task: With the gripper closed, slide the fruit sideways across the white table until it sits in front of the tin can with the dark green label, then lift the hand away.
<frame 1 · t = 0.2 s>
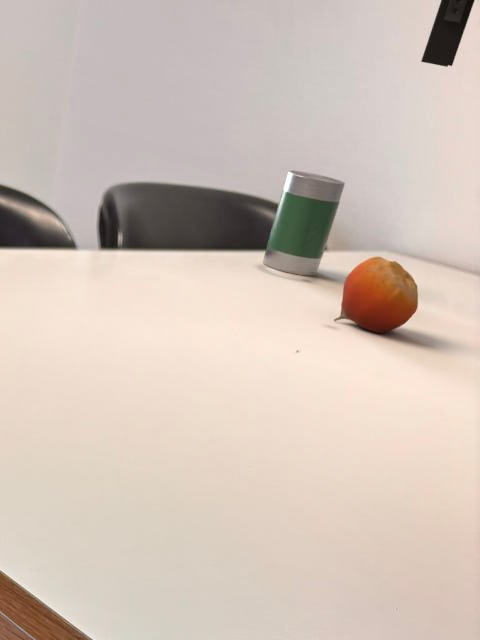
hand: (435, 64, 106), 25 cm above the table, tool pointing down, fingers open, 13 cm apart
tin can: (289, 268, 137), on the table
fruit: (368, 329, 114), on the table
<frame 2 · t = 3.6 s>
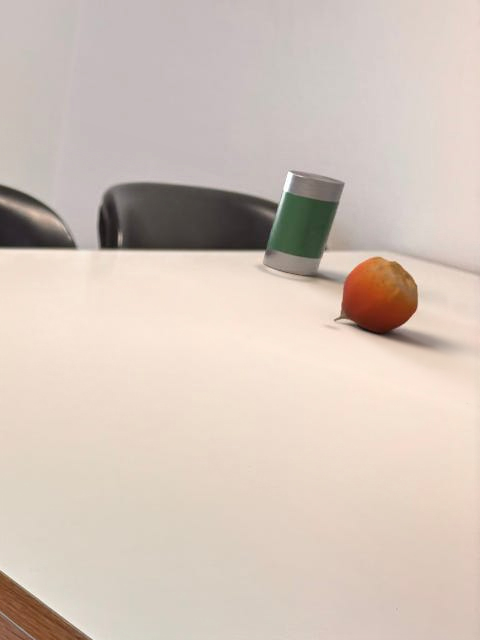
nothing on the table moved.
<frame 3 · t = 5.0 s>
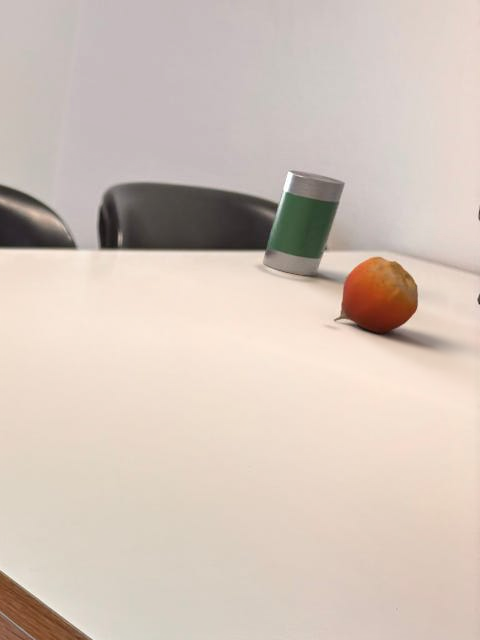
nothing on the table moved.
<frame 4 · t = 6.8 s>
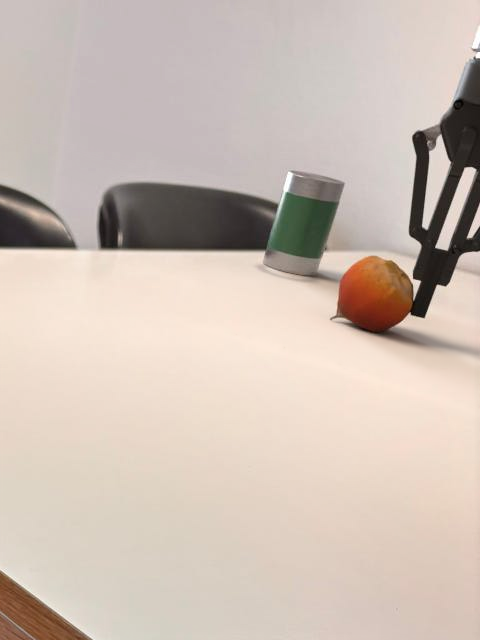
hand: (417, 314, 112), 3 cm above the table, tool pointing down, fingers closed
fruit: (364, 328, 115), on the table, touching gripper
everything else where it was.
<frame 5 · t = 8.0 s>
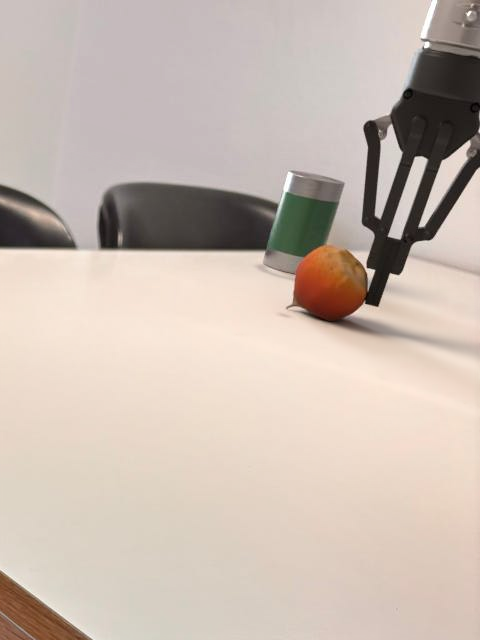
hand: (371, 303, 113), 3 cm above the table, tool pointing down, fingers closed
fruit: (320, 317, 116), on the table, touching gripper
everything else where it was.
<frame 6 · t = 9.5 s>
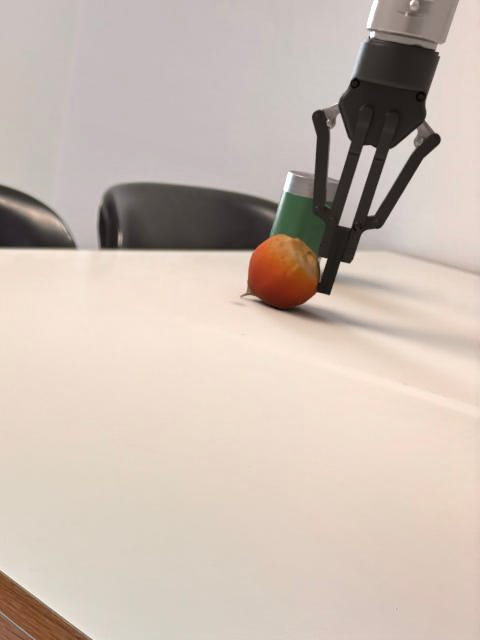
hand: (324, 291, 114), 3 cm above the table, tool pointing down, fingers closed
fruit: (274, 306, 117), on the table, touching gripper
everything else where it was.
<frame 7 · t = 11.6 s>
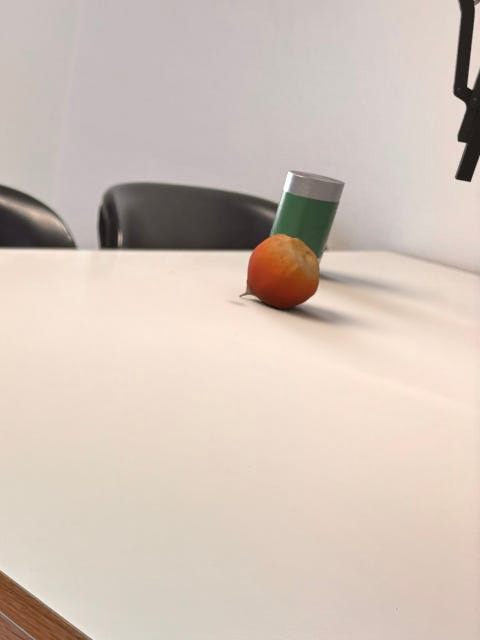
hand: (462, 179, 111), 15 cm above the table, tool pointing down, fingers closed
fruit: (274, 306, 117), on the table
everything else where it was.
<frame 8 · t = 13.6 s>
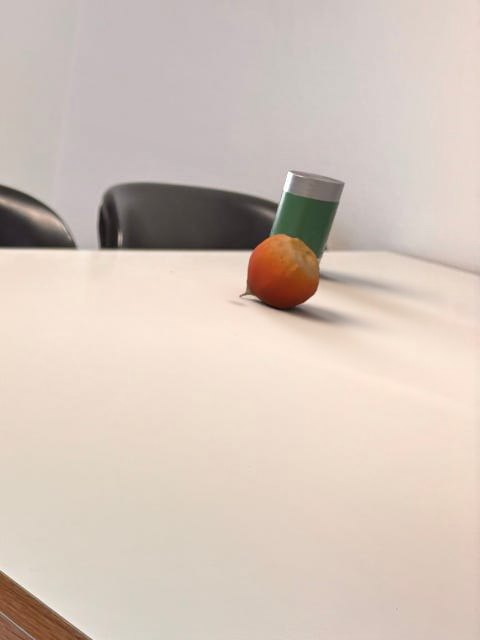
nothing on the table moved.
at the end: fruit inside the target area on the table beside the tin can (2.2 cm from its centre), on the table; tin can moved 0.0 cm from its start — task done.
